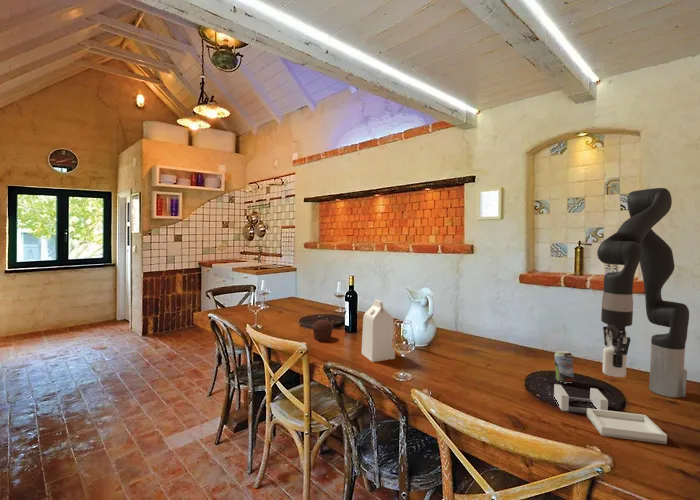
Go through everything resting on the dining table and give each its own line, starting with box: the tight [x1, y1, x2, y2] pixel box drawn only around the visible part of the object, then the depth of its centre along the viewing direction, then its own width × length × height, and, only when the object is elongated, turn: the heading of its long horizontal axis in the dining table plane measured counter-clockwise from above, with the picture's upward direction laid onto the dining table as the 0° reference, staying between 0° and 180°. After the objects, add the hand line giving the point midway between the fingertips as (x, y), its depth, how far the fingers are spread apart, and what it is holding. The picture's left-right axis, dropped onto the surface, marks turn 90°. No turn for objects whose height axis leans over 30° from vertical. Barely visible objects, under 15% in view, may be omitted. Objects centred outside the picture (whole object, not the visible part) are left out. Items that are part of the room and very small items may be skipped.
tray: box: [586, 407, 668, 445], centre depth 107 cm, size 16×12×2 cm
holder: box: [553, 383, 609, 414], centre depth 121 cm, size 13×9×5 cm
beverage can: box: [554, 350, 575, 384], centre depth 141 cm, size 6×7×12 cm
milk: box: [361, 299, 396, 363], centre depth 169 cm, size 12×12×26 cm
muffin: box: [312, 319, 334, 342], centre depth 197 cm, size 12×11×10 cm
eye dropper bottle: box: [601, 338, 628, 378], centre depth 109 cm, size 4×6×12 cm
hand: (614, 364), depth 109 cm, fingers closed on eye dropper bottle, 3 cm apart
